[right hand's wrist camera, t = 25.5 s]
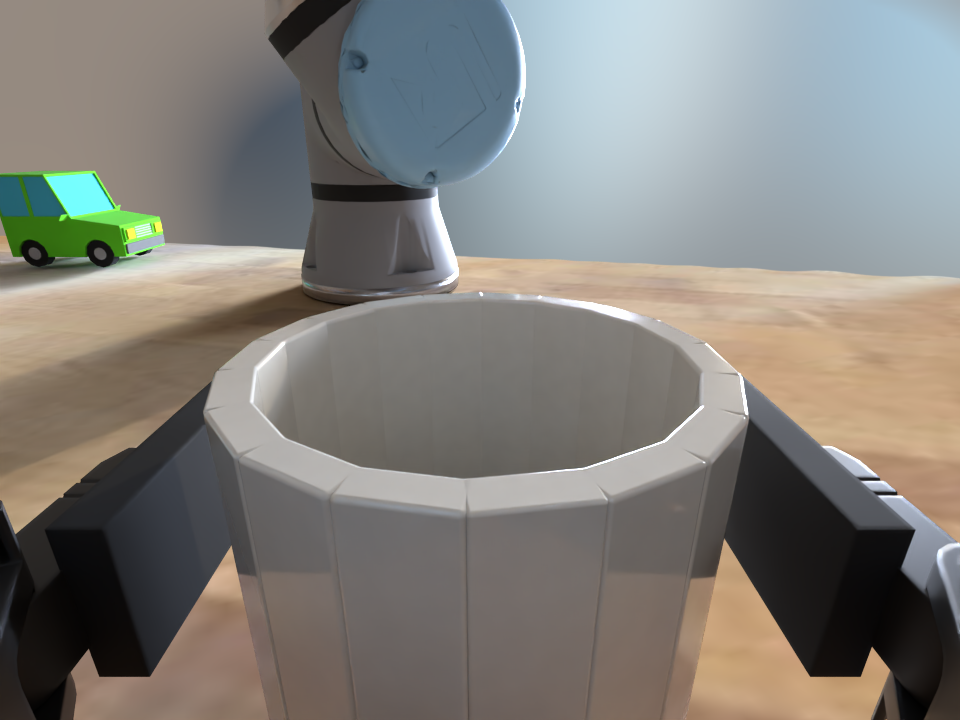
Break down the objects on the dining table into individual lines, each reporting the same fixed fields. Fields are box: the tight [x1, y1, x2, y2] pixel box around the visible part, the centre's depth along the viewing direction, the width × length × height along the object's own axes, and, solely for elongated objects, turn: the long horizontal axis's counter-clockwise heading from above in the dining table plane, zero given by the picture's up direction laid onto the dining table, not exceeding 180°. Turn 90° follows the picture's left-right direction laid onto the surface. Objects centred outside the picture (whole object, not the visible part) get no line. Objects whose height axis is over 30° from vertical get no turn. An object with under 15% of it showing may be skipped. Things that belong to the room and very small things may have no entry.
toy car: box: [0, 171, 165, 267], centre depth 63 cm, size 10×13×10 cm
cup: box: [203, 292, 749, 720], centre depth 11 cm, size 8×8×10 cm
